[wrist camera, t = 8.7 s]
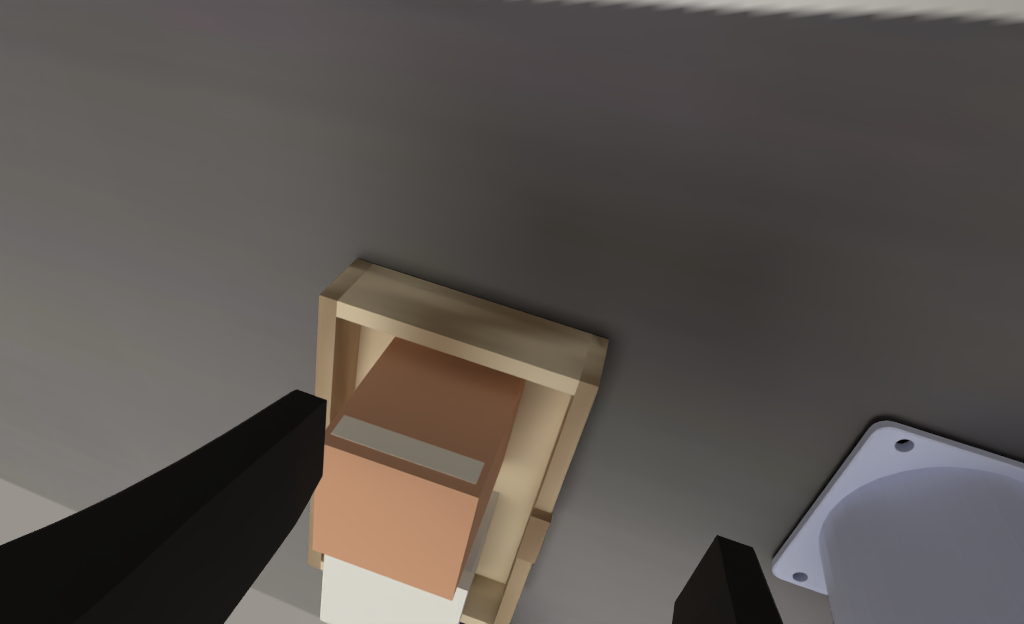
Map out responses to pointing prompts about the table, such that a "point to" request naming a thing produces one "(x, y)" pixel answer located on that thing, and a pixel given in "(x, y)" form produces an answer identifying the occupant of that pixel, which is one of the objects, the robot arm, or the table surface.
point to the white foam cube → (394, 591)
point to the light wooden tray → (489, 342)
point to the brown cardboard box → (414, 465)
